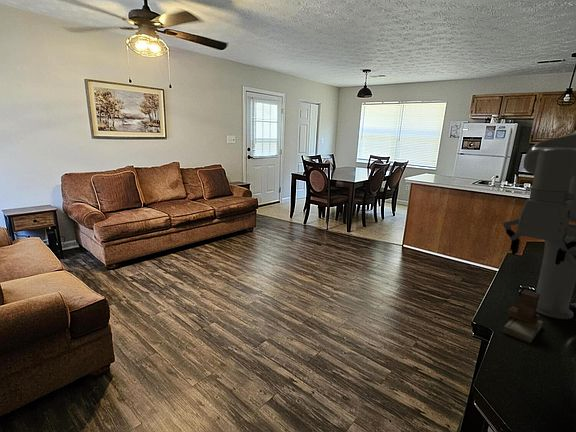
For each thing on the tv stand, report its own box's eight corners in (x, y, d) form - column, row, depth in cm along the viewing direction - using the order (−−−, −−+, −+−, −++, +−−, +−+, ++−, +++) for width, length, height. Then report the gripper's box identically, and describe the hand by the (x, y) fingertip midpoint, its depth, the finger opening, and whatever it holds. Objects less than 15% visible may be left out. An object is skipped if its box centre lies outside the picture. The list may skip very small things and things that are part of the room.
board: (516, 317, 107) (517, 312, 106) (541, 326, 102) (543, 321, 101) (502, 332, 98) (503, 326, 97) (530, 343, 93) (531, 337, 92)
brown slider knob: (510, 316, 106) (516, 286, 104) (536, 326, 101) (543, 294, 99) (506, 320, 104) (512, 289, 102) (533, 330, 98) (540, 298, 96)
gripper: (595, 199, 79) (579, 264, 82) (513, 191, 91) (503, 247, 95) (590, 203, 74) (574, 271, 78) (505, 193, 86) (494, 252, 90)
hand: (535, 258), depth 86 cm, fingers open, 9 cm apart
